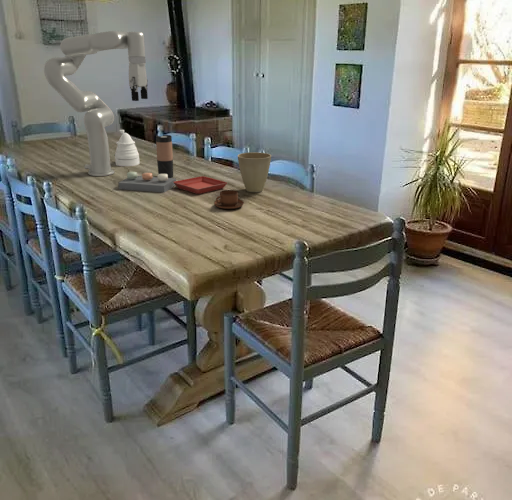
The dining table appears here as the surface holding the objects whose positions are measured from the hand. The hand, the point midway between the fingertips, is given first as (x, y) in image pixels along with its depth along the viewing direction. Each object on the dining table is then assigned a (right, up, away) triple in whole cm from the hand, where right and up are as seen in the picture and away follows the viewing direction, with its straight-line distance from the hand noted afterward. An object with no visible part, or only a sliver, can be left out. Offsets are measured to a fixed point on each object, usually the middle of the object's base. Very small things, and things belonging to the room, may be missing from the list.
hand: (140, 99), depth 243 cm
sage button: (-2, -38, -4) cm, 38 cm away
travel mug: (+10, -35, +13) cm, 38 cm away
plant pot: (+54, -44, -9) cm, 70 cm away
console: (+5, -41, -5) cm, 42 cm away
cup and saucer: (+43, -53, -32) cm, 76 cm away
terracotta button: (+5, -39, -6) cm, 39 cm away
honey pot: (-16, -23, +41) cm, 50 cm away
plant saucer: (+29, -43, -6) cm, 52 cm away
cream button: (+12, -39, -7) cm, 42 cm away
